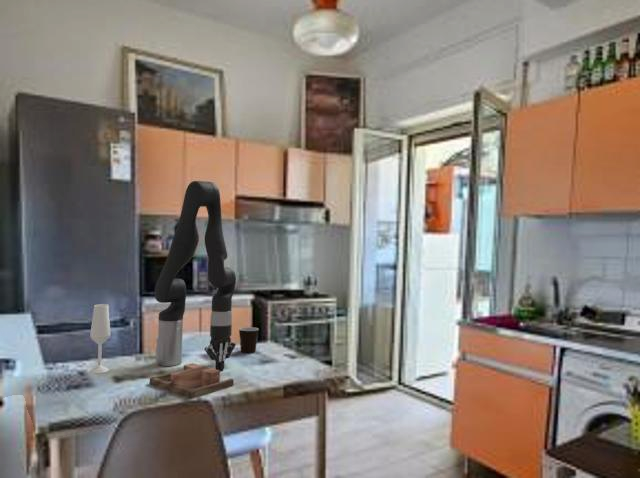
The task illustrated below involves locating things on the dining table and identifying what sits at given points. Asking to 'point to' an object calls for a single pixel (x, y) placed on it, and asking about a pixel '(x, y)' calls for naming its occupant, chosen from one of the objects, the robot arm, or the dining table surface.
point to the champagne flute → (100, 332)
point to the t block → (195, 376)
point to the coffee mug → (248, 339)
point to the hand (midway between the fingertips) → (219, 371)
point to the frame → (162, 383)
